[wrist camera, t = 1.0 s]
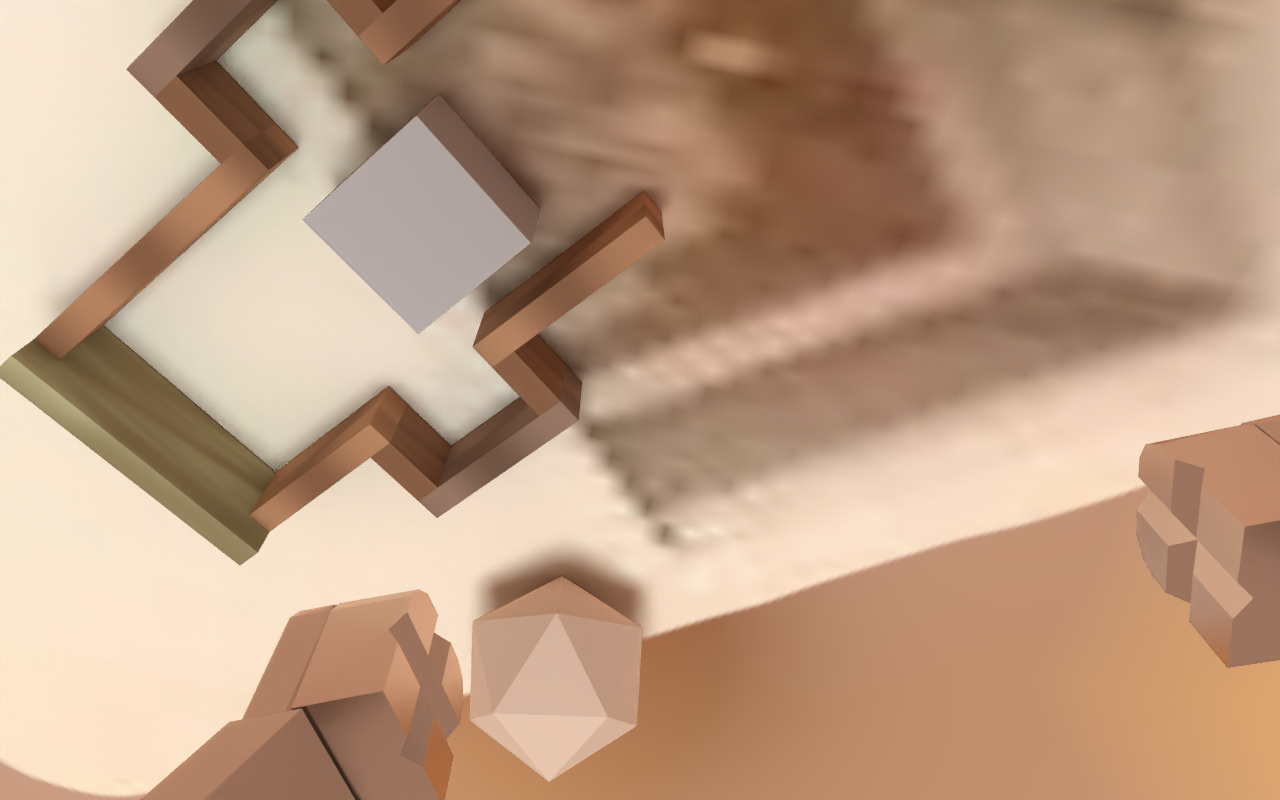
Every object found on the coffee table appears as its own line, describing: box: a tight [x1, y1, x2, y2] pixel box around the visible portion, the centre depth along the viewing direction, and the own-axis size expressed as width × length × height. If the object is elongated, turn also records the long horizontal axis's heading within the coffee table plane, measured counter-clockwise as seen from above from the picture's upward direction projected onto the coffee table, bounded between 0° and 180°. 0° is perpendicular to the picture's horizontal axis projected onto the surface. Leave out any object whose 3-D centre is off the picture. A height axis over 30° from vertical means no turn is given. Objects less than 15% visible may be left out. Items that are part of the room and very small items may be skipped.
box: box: [0, 0, 665, 565], centre depth 36 cm, size 24×21×5 cm
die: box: [470, 576, 643, 781], centre depth 45 cm, size 8×9×10 cm
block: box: [303, 94, 540, 334], centre depth 35 cm, size 6×6×4 cm
